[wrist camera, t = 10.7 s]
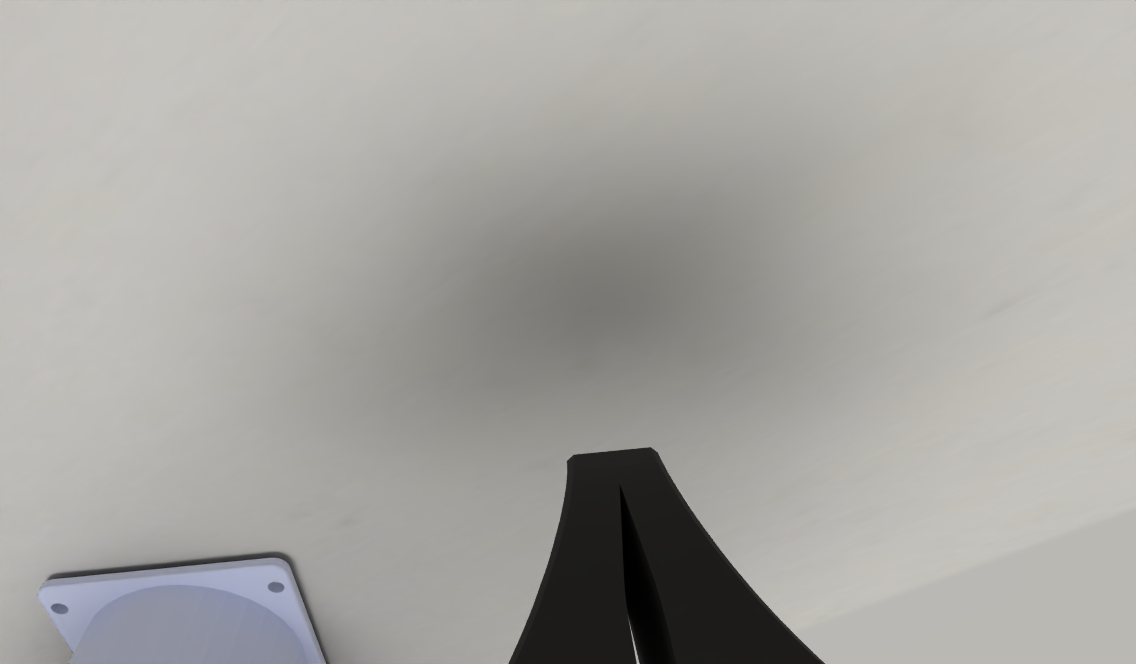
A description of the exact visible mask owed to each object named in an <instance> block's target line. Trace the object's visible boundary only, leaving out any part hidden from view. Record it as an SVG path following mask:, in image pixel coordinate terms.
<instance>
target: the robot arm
mask: <svg viewBox="0 0 1136 664" xmlns="http://www.w3.org/2000/svg"><path fill="white" fill-rule="evenodd" d="M276 582H279V583H276ZM37 596H38V599H39V601H40V602H41V604H42V605H43V607H44V608H45V610H46V612H47V613H48V615H49V616H50V618H51V619H52V621H53V623H54V624H55V626H56V627H57V629H58V630H59V632H60V634H61V635H62V637H63V638H64V640H65V641H66V643H67V645H68V646H69V648H70V649H71V651H72V652H73V655H72V657H71V659H70V661H69V663H68V664H326V662H325V659H324V657H323V654H322V651H321V649H320V646H319V643H318V641H317V638H316V635H315V633H314V630H313V627H312V625H311V622H310V619H309V616H308V614H307V611H306V608H305V606H304V603H303V600H302V598H301V595H300V592H299V590H298V587H297V584H296V582H295V579H294V576H293V573H292V571H291V568H290V566H289V565H288V563H287V562H285V561H284V560H282V559H279V558H263V559H253V560H243V561H233V562H223V563H213V564H202V565H192V566H182V567H172V568H162V569H152V570H142V571H132V572H122V573H111V574H101V575H91V576H81V577H71V578H61V579H52V580H48V581H46V582H44V583H43V584H42V586H41V588H40V589H39V591H38V593H37ZM628 617H629V619H628ZM629 621H630V624H629ZM630 626H631V630H632V634H633V638H634V642H635V646H636V651H637V655H638V659H639V663H640V664H825V663H824V662H823V661H822V660H820V659H819V658H818V657H817V656H816V655H815V654H814V653H813V652H812V651H811V650H810V649H809V648H808V647H807V646H806V645H805V644H804V643H803V642H802V641H801V640H800V639H799V638H798V637H797V636H796V635H795V634H794V633H793V632H792V631H791V630H790V629H789V628H788V627H787V626H786V625H785V624H784V623H783V622H782V621H781V620H780V619H779V618H778V617H777V616H776V615H775V614H774V613H773V612H772V610H771V609H770V608H769V607H768V606H767V605H766V604H765V603H764V602H763V601H762V599H761V598H760V597H759V596H758V595H757V594H756V593H755V592H754V590H753V589H752V588H751V587H750V586H749V585H748V583H747V582H746V581H745V580H744V579H743V577H742V576H741V575H740V574H739V573H738V571H737V570H736V569H735V568H734V567H733V565H732V564H731V563H730V562H729V560H728V559H727V558H726V557H725V555H724V554H723V553H722V552H721V550H720V549H719V548H718V546H717V545H716V544H715V542H714V541H713V539H712V538H711V537H710V535H709V534H708V533H707V531H706V530H705V529H704V527H703V526H702V525H701V523H700V522H699V520H698V519H697V518H696V516H695V515H694V513H693V512H692V510H691V509H690V507H689V506H688V504H687V503H686V501H685V500H684V498H683V497H682V495H681V493H680V492H679V490H678V489H677V487H676V485H675V484H674V482H673V480H672V479H671V477H670V475H669V474H668V472H667V470H666V468H665V466H664V464H663V463H662V461H661V459H660V456H659V454H658V452H656V451H655V450H654V449H652V448H651V447H649V448H639V449H629V450H618V451H608V452H598V453H587V454H577V455H573V456H572V457H571V458H570V459H569V460H568V461H567V484H566V491H565V498H564V503H563V508H562V513H561V518H560V522H559V526H558V530H557V533H556V537H555V541H554V544H553V548H552V552H551V555H550V559H549V562H548V565H547V568H546V571H545V574H544V577H543V579H542V582H541V585H540V588H539V591H538V594H537V597H536V599H535V602H534V605H533V608H532V610H531V613H530V615H529V618H528V620H527V623H526V625H525V628H524V630H523V632H522V635H521V637H520V639H519V642H518V644H517V646H516V648H515V650H514V653H513V655H512V657H511V659H510V661H509V664H637V663H636V658H635V652H634V646H633V641H632V635H631V630H630Z"/></svg>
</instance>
